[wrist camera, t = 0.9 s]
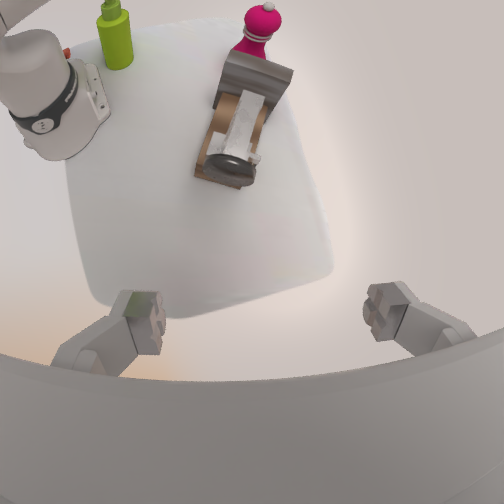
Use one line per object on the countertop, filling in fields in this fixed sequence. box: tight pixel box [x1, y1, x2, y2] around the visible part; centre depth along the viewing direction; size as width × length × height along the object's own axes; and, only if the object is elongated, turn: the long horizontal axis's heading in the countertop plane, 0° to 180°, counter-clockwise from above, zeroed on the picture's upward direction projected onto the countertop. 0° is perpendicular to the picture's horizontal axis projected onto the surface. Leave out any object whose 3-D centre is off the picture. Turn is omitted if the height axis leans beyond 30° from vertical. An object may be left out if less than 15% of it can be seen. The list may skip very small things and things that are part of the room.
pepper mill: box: [233, 2, 282, 60], centre depth 39 cm, size 7×7×20 cm
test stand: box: [194, 49, 293, 190], centre depth 41 cm, size 17×10×14 cm, turn 166°
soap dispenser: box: [96, 0, 134, 70], centre depth 33 cm, size 6×7×20 cm
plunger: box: [202, 90, 265, 186], centre depth 34 cm, size 11×8×20 cm
